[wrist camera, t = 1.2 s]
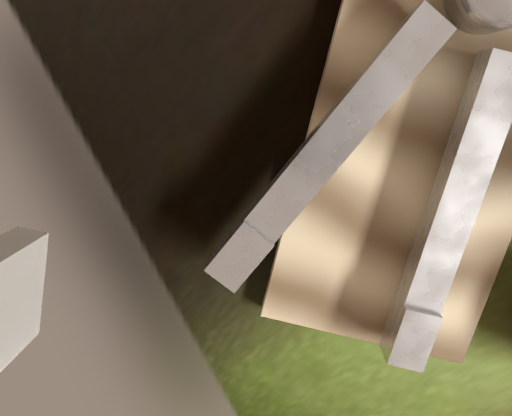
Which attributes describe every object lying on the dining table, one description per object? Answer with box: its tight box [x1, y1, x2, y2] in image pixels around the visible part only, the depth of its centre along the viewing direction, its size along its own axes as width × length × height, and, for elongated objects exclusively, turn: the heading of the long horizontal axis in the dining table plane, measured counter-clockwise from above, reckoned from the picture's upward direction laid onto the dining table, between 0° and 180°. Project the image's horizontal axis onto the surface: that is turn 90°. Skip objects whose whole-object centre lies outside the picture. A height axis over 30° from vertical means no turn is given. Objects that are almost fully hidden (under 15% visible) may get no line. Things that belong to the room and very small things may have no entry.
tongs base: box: [379, 0, 512, 373], centre depth 28 cm, size 30×5×4 cm, turn 167°
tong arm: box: [204, 0, 457, 293], centre depth 28 cm, size 20×2×2 cm, turn 142°
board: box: [261, 0, 512, 364], centre depth 31 cm, size 31×15×2 cm, turn 167°
